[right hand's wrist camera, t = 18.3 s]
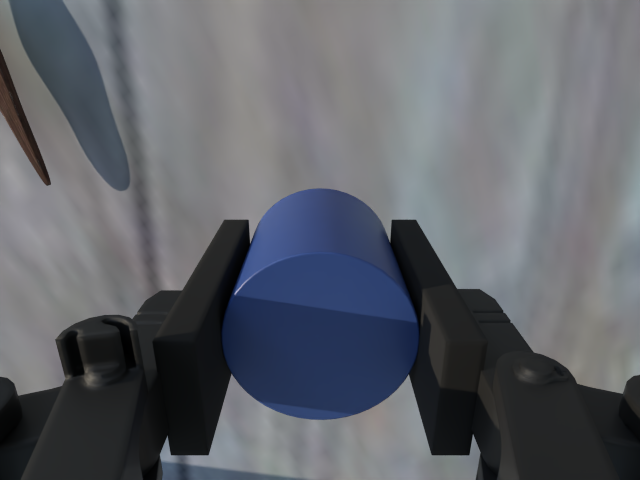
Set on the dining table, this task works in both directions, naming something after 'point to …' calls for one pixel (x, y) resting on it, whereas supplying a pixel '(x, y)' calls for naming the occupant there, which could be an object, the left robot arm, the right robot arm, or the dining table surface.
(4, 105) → the fork
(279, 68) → the dining table surface
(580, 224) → the dining table surface
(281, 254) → the can
